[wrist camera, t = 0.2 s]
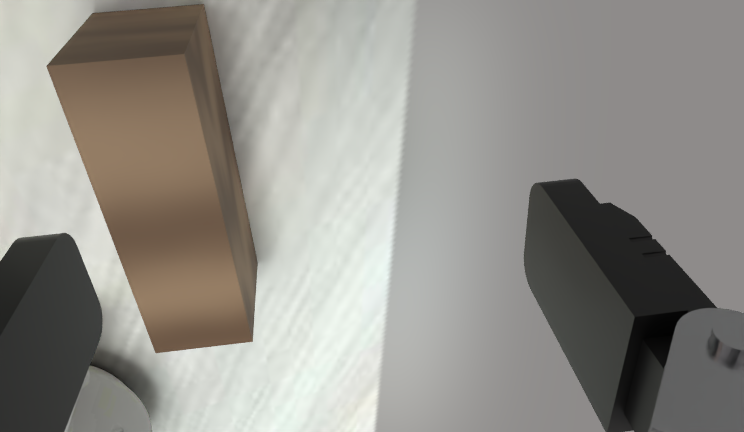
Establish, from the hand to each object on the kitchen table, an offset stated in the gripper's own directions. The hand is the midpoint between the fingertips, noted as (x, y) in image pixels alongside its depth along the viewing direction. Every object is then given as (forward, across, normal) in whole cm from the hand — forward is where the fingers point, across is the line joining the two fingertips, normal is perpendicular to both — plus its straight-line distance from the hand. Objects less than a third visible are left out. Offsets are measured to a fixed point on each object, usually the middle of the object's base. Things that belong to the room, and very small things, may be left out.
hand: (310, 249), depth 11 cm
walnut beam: (+18, +6, +6) cm, 20 cm away
